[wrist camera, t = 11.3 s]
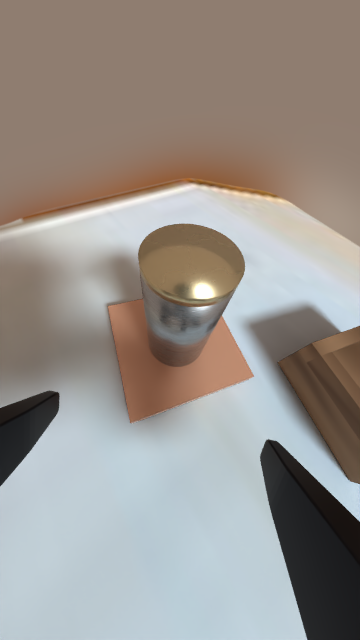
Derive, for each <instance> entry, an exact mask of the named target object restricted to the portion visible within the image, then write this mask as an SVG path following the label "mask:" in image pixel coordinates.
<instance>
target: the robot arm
mask: <svg viewBox="0 0 360 640" xmlns="http://www.w3.org/2000/svg"><path fill="white" fill-rule="evenodd" d="M58 410H59V393H58V392H54V391H46V392H43V393H41V394H38V395H35V396H32V397H30V398H27V399H24V400H21V401H18V402H16V403H13V404H10V405H7V406H4V407H2V408H0V486H1V485H2V484H3V483H4V482H5V480H6V479H7V478H8V477H9V476H10V475H11V473H12V472H13V471H14V470H15V469H16V467H17V466H18V465H19V464H20V463H21V462H22V460H23V459H24V458H25V457H26V456H27V454H28V453H29V452H30V451H31V449H32V448H33V447H34V445H35V444H36V442H37V441H38V440H39V438H40V437H41V435H42V434H43V433H44V431H45V430H46V428H47V427H48V426H49V424H50V423H51V422H52V420H53V419H54V417H55V416H56V414H57V413H58ZM260 461H261V466H262V471H263V476H264V481H265V486H266V491H267V496H268V501H269V505H270V509H271V513H272V517H273V520H274V524H275V527H276V531H277V534H278V538H279V542H280V545H281V549H282V552H283V556H284V559H285V563H286V566H287V570H288V573H289V577H290V580H291V584H292V587H293V591H294V594H295V598H296V601H297V605H298V608H299V612H300V615H301V619H302V622H303V626H304V629H305V633H306V636H307V640H360V522H359V521H358V520H357V519H356V518H355V517H354V516H353V515H352V514H351V513H350V512H349V511H348V510H347V509H346V508H345V507H344V506H343V505H342V504H341V503H340V502H339V501H338V500H337V499H336V498H335V497H334V496H333V495H332V494H331V493H330V492H329V491H328V490H327V489H326V488H325V487H324V486H322V485H321V484H320V483H319V482H318V481H317V480H316V479H315V478H314V477H313V476H312V475H311V474H310V473H309V472H308V471H307V470H306V469H305V468H304V467H303V466H302V465H301V464H300V463H299V462H298V461H297V460H296V459H295V458H294V457H293V456H292V455H291V454H290V453H289V452H288V451H287V450H286V449H285V448H284V447H283V446H282V445H281V444H280V443H278V442H277V441H274V440H269V439H268V440H266V442H265V444H264V447H263V449H262V452H261V455H260Z"/></svg>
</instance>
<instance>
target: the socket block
mask: <svg viewBox="0 0 360 640" xmlns="http://www.w3.org/2000/svg"><path fill="white" fill-rule="evenodd" d="M277 363H278V364H279V366H280V368H281V369H282V371H283V372H284V374H285V376H286V377H287V379H288V381H289V382H290V384H291V385H292V387H293V389H294V390H295V392H296V394H297V395H298V397H299V399H300V400H301V402H302V403H303V405H304V407H305V408H306V410H307V412H308V413H309V415H310V417H311V418H312V420H313V421H314V423H315V425H316V426H317V428H318V430H319V431H320V433H321V434H322V436H323V438H324V439H325V441H326V443H327V444H328V446H329V448H330V449H331V451H332V452H333V454H334V456H335V457H336V459H337V461H338V462H339V464H340V466H341V467H342V469H343V470H344V472H345V474H346V475H347V477H348V479H349V480H350V481H351V482H354V483H358V484H360V326H358V327H355V328H353V329H350V330H347V331H344V332H341V333H339V334H336V335H333V336H330V337H327V338H324V339H322V340H319V341H316V342H313V343H311V344H309V345H307V346H306V347H304V348H302V349H300V350H299V351H297V352H295V353H293V354H291V355H290V356H288V357H286V358H284V359H283V360H281V361H279V362H277Z"/></svg>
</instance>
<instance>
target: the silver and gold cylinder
mask: <svg viewBox="0 0 360 640" xmlns="http://www.w3.org/2000/svg"><path fill="white" fill-rule="evenodd" d="M138 259H139V268H140V276H141V285H142V293H143V301H144V310H145V318H146V327H147V335H148V344H149V348H150V351H151V352H152V354H153V355H154V357H155V358H156V359H157V360H158V361H160V362H161V363H163V364H165V365H168V366H172V367H182V366H186V365H188V364H191V363H192V362H194V361H195V360H196V359H197V358H198V357H199V356H200V354H201V352H202V350H203V348H204V347H205V345H206V343H207V341H208V339H209V338H210V336H211V334H212V332H213V330H214V328H215V327H216V325H217V323H218V321H219V319H220V317H221V316H222V314H223V312H224V310H225V308H226V306H227V305H228V303H229V301H230V299H231V297H232V296H233V294H234V292H235V290H236V288H237V286H238V285H239V283H240V281H241V279H242V277H243V275H244V271H245V262H244V258H243V255H242V253H241V251H240V250H239V248H238V247H237V246H236V245H235V244H234V243H233V242H232V241H231V240H230V239H229V238H227V237H226V236H225V235H223V234H221V233H219V232H217V231H215V230H213V229H210V228H207V227H204V226H200V225H194V224H174V225H168V226H164V227H162V228H159V229H157V230H155V231H153V232H152V233H150V234H149V235H148V236H147V237H146V238H145V239H144V240H143V242H142V243H141V245H140V248H139V253H138Z"/></svg>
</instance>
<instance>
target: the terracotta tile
mask: <svg viewBox="0 0 360 640" xmlns="http://www.w3.org/2000/svg"><path fill="white" fill-rule="evenodd" d="M108 310H109V315H110V320H111V325H112V330H113V336H114V341H115V346H116V351H117V356H118V361H119V366H120V372H121V377H122V382H123V387H124V392H125V397H126V403H127V408H128V413H129V418H130V423H135V422H138V421H141V420H143V419H146V418H148V417H151V416H154V415H156V414H159V413H162V412H164V411H167V410H170V409H172V408H175V407H178V406H180V405H183V404H186V403H188V402H191V401H193V400H196V399H199V398H201V397H204V396H207V395H209V394H212V393H215V392H217V391H220V390H223V389H225V388H228V387H230V386H233V385H236V384H238V383H241V382H244V381H246V380H249V379H250V378H252V377H254V375H253V373H252V372H251V370H250V368H249V366H248V364H247V362H246V360H245V358H244V357H243V355H242V353H241V351H240V349H239V347H238V345H237V343H236V341H235V340H234V338H233V336H232V334H231V332H230V330H229V328H228V326H227V324H226V323H225V321H224V319H223V317H222V316H221V317H220V319H219V321H218V323H217V325H216V327H215V328H214V330H213V332H212V334H211V336H210V338H209V339H208V341H207V343H206V345H205V347H204V348H203V350H202V352H201V354H200V356H199V357H198V358H197V359H196V360H195V361H194V362H192V363H191V364H188V365H186V366H182V367H172V366H168V365H165V364H163V363H161V362H160V361H158V360H157V359H156V358H155V357H154V355H153V354H152V352H151V351H150V348H149V344H148V335H147V327H146V318H145V310H144V301H143V299H139V300H135V301H130V302H125V303H121V304H116V305H111V306H108Z"/></svg>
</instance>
